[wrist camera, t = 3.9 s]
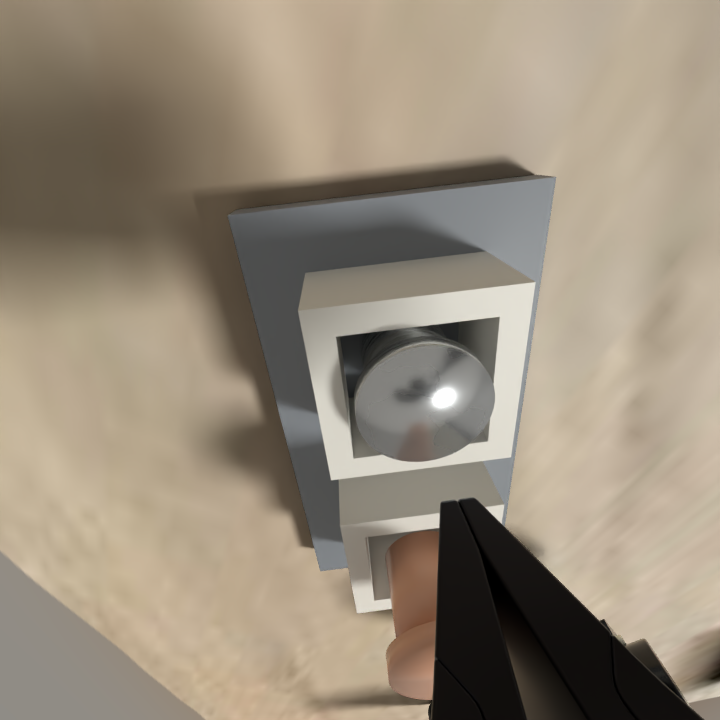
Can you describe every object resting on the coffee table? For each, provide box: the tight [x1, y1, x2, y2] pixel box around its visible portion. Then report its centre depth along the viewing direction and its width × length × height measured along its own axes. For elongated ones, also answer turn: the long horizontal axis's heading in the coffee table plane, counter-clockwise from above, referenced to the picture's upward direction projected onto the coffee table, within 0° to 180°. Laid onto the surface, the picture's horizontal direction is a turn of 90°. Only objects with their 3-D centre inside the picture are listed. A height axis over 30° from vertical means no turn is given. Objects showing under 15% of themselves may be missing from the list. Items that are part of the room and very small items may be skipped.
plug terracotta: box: [385, 531, 439, 700], centre depth 16 cm, size 5×5×5 cm
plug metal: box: [354, 324, 495, 462], centre depth 14 cm, size 5×5×5 cm
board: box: [228, 175, 556, 613], centre depth 18 cm, size 12×22×6 cm, turn 6°
